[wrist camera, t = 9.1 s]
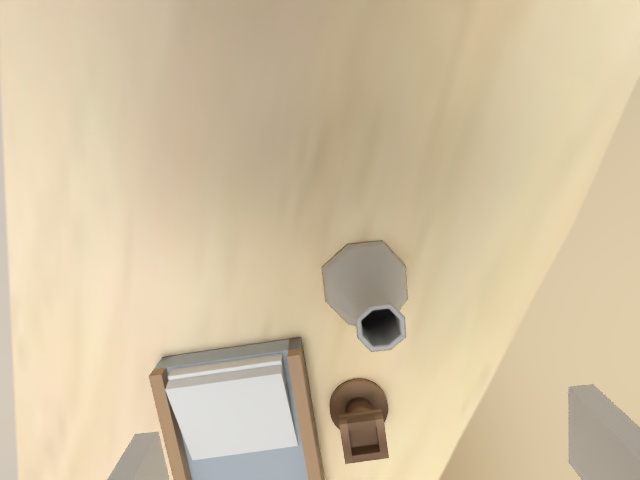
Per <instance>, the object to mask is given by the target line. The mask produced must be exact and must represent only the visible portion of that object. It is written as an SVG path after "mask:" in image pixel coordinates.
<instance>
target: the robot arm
mask: <svg viewBox="0 0 640 480" xmlns="http://www.w3.org/2000/svg"><path fill="white" fill-rule="evenodd" d="M569 463H570V465H571V466H572V467H573V469H574V470H575V471H576V473H577V474H578V475H579V477H580V478H581V479H582V480H640V427H639V426H638V425H637V424H635V422H633V421H632V420H631V419H630V418H629V417H628V416H627V415H626V414H625V413H624V412H623V411H622V410H620V409H619V408H618V407H617V406H616V405H615V404H614V403H613V402H612V401H611V400H610V399H609V398H607V397H606V396H605V395H604V394H603V393H602V392H601V391H600V390H599V389H598V388H597V387H596V386H594V385H593V384H590V385H581V386H572V387H569ZM108 480H169V476H168V471H167V467H166V463H165V458H164V454H163V449H162V445H161V441H160V436H159V432H151V433H142V434H135V435H134V437H133V439H132V440H131V442H130V443H129V445H128V447H127V448H126V450H125V452H124V453H123V455H122V457H121V458H120V460H119V462H118V463H117V465H116V466H115V468H114V470H113V471H112V473H111V475H110V476H109V478H108Z"/></svg>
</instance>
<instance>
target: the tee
mask: <svg viewBox="0 0 640 480" xmlns="http://www.w3.org/2000/svg"><path fill="white" fill-rule="evenodd" d="M330 414H331V418H332V420H333V422H334V424H335V425H336V426H337V427H338V428H339V429H340V432H341V438H342V445H343V451H344V458H345V464H348V463H355V462H362V461H370V460H377V459H384V458H389V456H388V448H387V441H386V433H385V426H384V422H385V420H386V417H387V414H388V404H387V400H386V397H385V394H384V392H383V391H382V389H381V388H380V387H379V386H378V385H377V384H375V383H374V382H372V381H369V380H366V379H352V380H349V381H346V382H344V383H342V384H341V385H340V386H338V387H337V388H336V390H335V391H334V392H333V394H332V397H331V400H330Z"/></svg>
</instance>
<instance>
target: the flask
mask: <svg viewBox="0 0 640 480" xmlns="http://www.w3.org/2000/svg"><path fill="white" fill-rule="evenodd" d="M322 275H323V284H324V293H325V301H326V302H327V303H328V304H329V305H330V306H331V307H332V308H333V309H334V310H335V311H336V312H337V313H338V314H339V315H340V316H341V317H342V318H343V319H344V320H345V321H346V322H347V323H348V324H349V325H352V326H356V328H357V337H358V339H359V340H360V341H361V342H362V343H363V344H364V345H365V346H366V347H367V348H368V349H369V350H370V351H371V352H375V351H384V350H391V349H393V348H394V347H395V346H396V345H397V344H398V343H400V342H401V341H402V340H403V339H404V338H405V337H406V328H405V317H404V316H403V315H402V314H401V313H400V312H399V310H400V309H401V307H402V306H403V305H404V303H405V302H406V301H407V299H408V293H407V280H406V266H405V265H404V263H403V262H402V261H401V260H400V259H399V258H398V257H397V256H396V255H395V254H394V253H393V252H392V251H391V249H390V248H389V247H388V246H387V245H386V244H385V243H384V242H383V241H375V242H366V243H357V244H348V245H346V246H345V247H344V248H343V249H342V250H341V251H340V252H339V253H337V254H336V255H335V256H334V257H333V258H332V259H331V260H330V261H329V262H328V263H326V264H325V265H324V266H323V267H322Z"/></svg>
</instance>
